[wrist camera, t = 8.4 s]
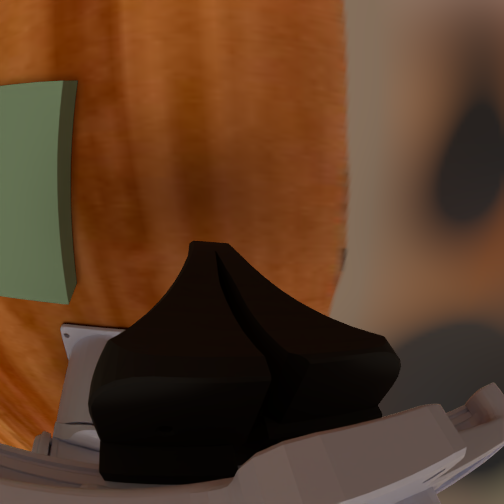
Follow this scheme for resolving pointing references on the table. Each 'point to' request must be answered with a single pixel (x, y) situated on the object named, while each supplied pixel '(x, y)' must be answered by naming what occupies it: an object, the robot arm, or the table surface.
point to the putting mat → (36, 191)
